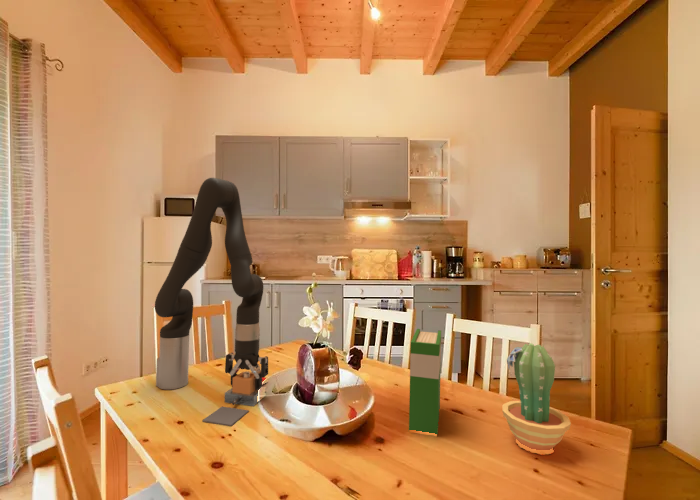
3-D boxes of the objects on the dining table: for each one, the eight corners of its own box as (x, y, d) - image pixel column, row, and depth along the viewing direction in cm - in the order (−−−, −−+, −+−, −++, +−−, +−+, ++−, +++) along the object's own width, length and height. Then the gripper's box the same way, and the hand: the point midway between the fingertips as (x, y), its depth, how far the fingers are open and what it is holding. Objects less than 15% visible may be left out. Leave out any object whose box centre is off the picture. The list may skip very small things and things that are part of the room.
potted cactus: (530, 425, 97) (532, 336, 97) (585, 456, 82) (587, 351, 83) (487, 435, 91) (489, 340, 92) (538, 469, 77) (540, 357, 77)
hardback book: (415, 404, 109) (417, 328, 109) (439, 408, 107) (441, 330, 107) (408, 432, 92) (410, 342, 92) (437, 437, 90) (439, 344, 90)
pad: (202, 421, 95) (202, 420, 95) (222, 407, 104) (222, 406, 104) (231, 426, 93) (231, 424, 93) (248, 411, 101) (248, 410, 101)
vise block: (218, 406, 105) (219, 378, 105) (238, 392, 115) (239, 366, 115) (248, 410, 102) (249, 381, 102) (266, 396, 113) (266, 370, 113)
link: (232, 392, 108) (232, 377, 108) (242, 385, 114) (243, 371, 114) (249, 394, 106) (249, 379, 107) (259, 387, 112) (259, 373, 112)
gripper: (220, 337, 108) (219, 389, 108) (261, 341, 105) (260, 395, 105) (234, 332, 116) (233, 381, 115) (273, 336, 112) (271, 386, 112)
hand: (246, 388), depth 110 cm, fingers open, 8 cm apart
